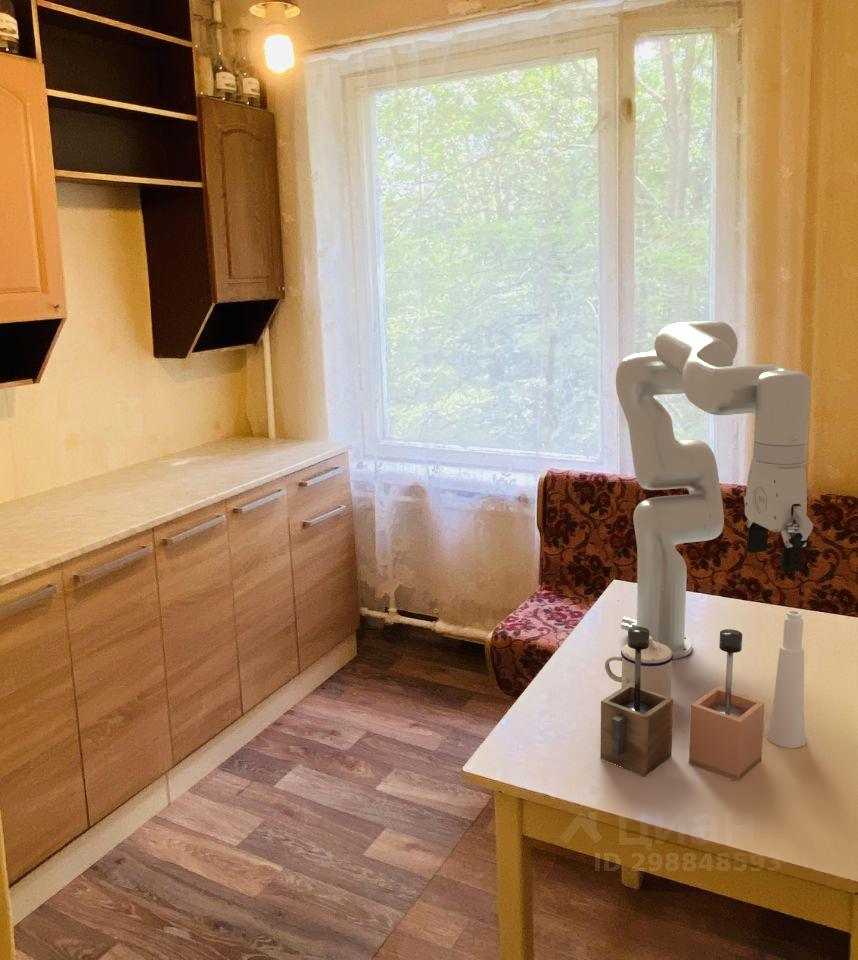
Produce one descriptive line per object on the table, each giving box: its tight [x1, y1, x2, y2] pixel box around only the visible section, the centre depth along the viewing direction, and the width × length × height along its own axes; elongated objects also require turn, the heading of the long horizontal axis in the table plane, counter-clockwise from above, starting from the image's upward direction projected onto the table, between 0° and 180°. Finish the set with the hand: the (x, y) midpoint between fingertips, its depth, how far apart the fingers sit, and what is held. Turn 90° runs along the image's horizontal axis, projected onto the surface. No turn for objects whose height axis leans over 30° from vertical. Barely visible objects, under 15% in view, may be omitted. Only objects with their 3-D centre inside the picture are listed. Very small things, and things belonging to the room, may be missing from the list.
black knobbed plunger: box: [709, 628, 745, 718], centre depth 134 cm, size 6×6×14 cm
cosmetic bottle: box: [765, 609, 807, 749], centre depth 141 cm, size 6×6×22 cm
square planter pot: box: [688, 686, 766, 783], centre depth 137 cm, size 8×10×10 cm
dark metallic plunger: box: [621, 627, 654, 714], centre depth 136 cm, size 6×6×14 cm
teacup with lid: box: [604, 636, 674, 698], centre depth 158 cm, size 12×9×12 cm
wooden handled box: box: [599, 684, 674, 778], centre depth 138 cm, size 8×10×10 cm
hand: (773, 561), depth 137 cm, fingers open, 9 cm apart
